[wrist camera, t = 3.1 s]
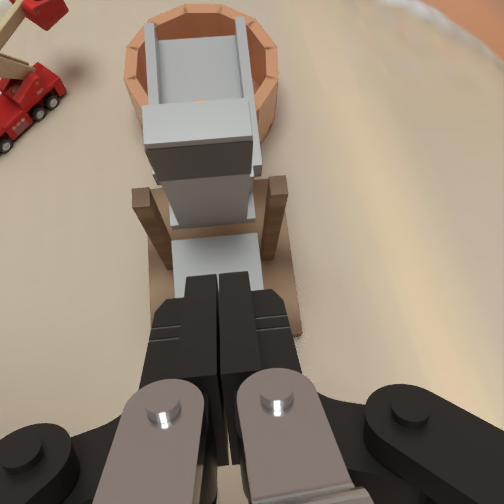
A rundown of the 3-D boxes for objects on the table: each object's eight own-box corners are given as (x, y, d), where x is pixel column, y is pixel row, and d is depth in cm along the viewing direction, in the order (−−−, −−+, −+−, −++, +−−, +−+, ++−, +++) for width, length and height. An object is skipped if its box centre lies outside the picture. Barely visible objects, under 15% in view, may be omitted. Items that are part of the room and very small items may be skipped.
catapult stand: (300, 335, 37) (331, 298, 24) (155, 351, 37) (106, 321, 24) (278, 185, 42) (295, 84, 29) (149, 197, 41) (105, 98, 28)
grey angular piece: (273, 322, 28) (302, 289, 15) (173, 332, 28) (119, 307, 15) (243, 64, 32) (246, -127, 20) (157, 70, 32) (103, -120, 19)
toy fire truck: (-30, 146, 43) (-105, 75, 34) (72, 54, 46) (31, -32, 37) (-6, 165, 42) (-75, 98, 33) (96, 71, 46) (60, -13, 37)
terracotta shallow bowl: (115, 130, 43) (94, 86, 37) (185, 38, 47) (177, -16, 41) (231, 190, 42) (230, 153, 36) (295, 89, 45) (303, 40, 39)
